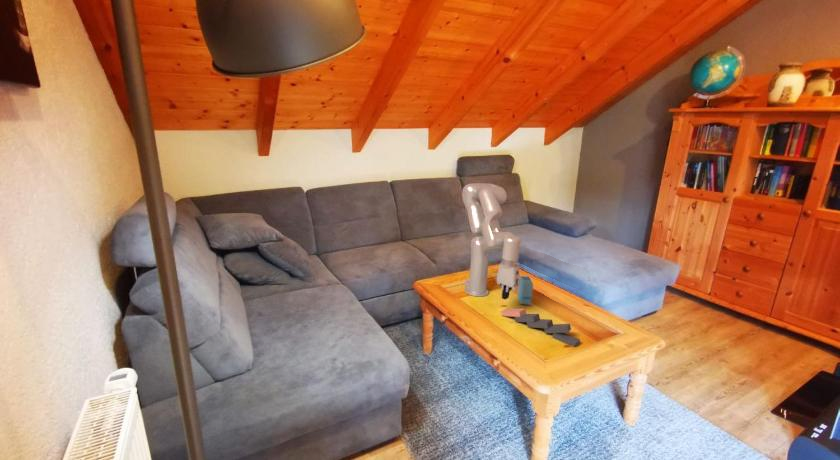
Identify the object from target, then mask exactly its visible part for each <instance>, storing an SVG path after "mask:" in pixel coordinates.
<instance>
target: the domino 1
mask: <svg viewBox="0 0 840 460" xmlns="http://www.w3.org/2000/svg"><path fill="white" fill-rule="evenodd" d="M525 314H527V311H526V308H506V309H504V310H501V316H502V317H514V318H515V317H521V316H523V315H525Z"/></svg>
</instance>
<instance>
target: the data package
mask: <svg viewBox="0 0 840 460" xmlns="http://www.w3.org/2000/svg"><path fill="white" fill-rule="evenodd" d="M517 287H518V289H517V297H518V300H519V302H520V305H527V306H530V305H531V302H532V296H533V288H534V283H533V282H532V280H531V278H530V276H527V275H526V276H525V275H519V285H518V286H517Z"/></svg>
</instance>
